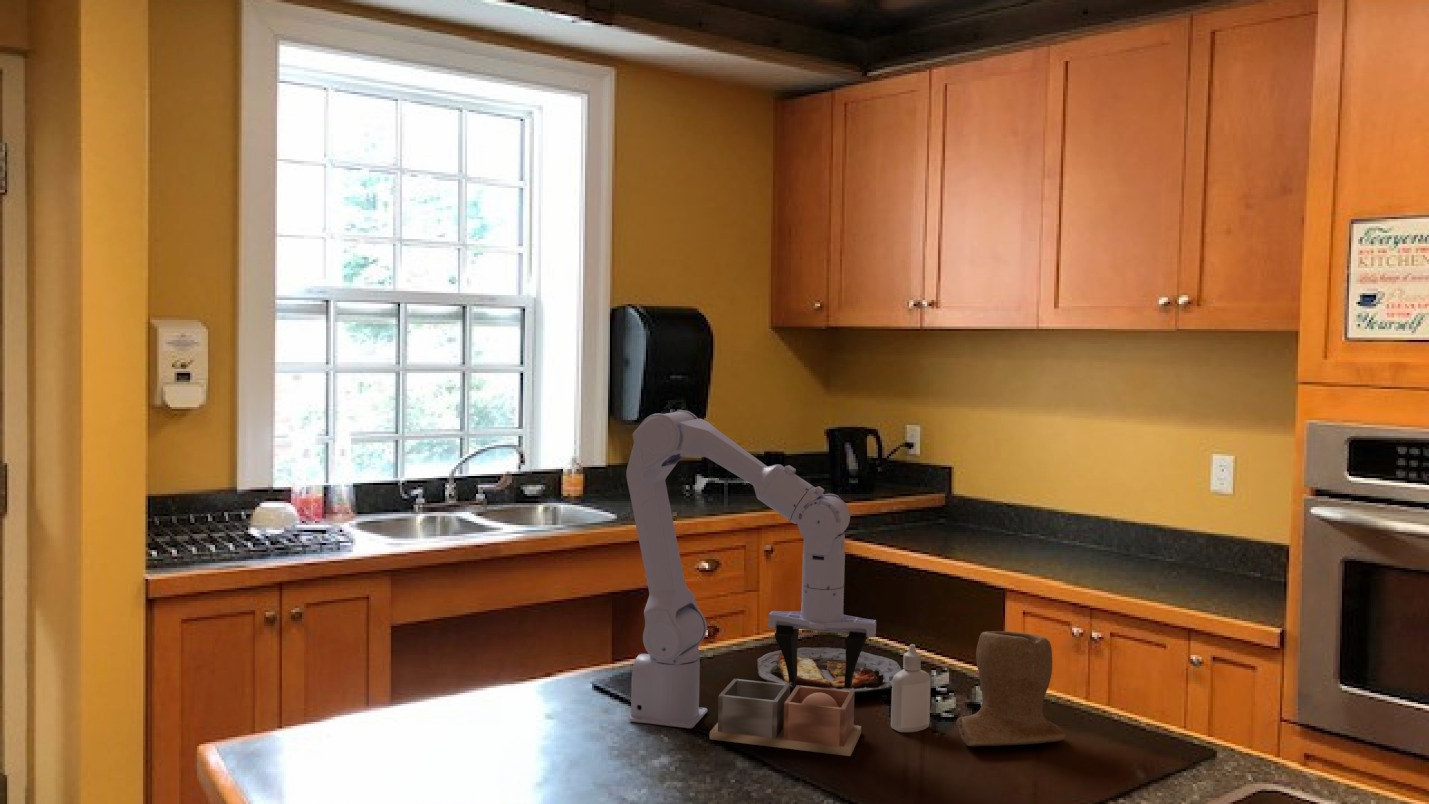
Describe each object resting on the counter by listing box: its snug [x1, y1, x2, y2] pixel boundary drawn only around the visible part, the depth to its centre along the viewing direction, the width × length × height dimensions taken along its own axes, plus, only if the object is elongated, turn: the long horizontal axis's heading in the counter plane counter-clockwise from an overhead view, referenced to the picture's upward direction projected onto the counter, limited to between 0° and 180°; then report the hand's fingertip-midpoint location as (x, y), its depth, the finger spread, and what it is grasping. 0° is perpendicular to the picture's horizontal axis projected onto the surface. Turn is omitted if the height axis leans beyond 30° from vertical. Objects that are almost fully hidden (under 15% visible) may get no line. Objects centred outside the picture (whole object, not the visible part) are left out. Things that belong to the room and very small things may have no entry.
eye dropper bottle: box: [890, 643, 931, 733], centre depth 163 cm, size 4×6×12 cm
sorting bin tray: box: [709, 678, 862, 757], centre depth 159 cm, size 19×9×6 cm, turn 74°
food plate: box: [756, 646, 902, 694], centre depth 185 cm, size 25×23×4 cm
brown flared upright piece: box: [955, 630, 1066, 747], centre depth 159 cm, size 15×12×15 cm
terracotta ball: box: [802, 693, 838, 707], centre depth 157 cm, size 6×6×6 cm
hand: (820, 683), depth 157 cm, fingers open, 7 cm apart
